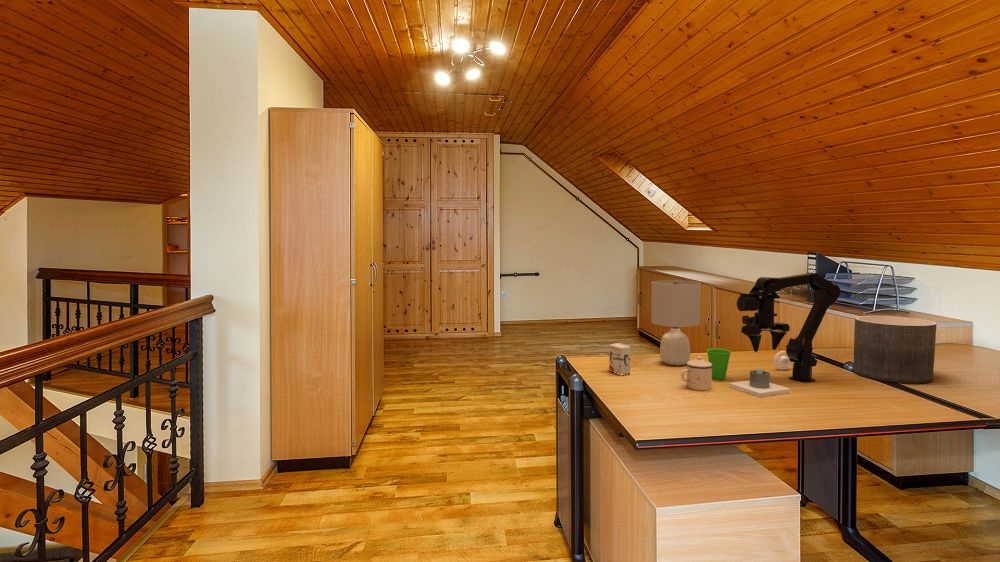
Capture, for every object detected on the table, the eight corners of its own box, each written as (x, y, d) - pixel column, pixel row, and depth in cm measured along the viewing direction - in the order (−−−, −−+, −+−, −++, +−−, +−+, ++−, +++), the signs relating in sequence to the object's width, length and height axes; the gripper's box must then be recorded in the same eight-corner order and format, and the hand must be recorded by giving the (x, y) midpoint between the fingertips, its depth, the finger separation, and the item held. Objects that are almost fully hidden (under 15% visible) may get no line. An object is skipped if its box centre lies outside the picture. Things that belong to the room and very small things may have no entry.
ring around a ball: (776, 371, 212) (777, 352, 212) (767, 368, 218) (768, 349, 217) (794, 370, 214) (794, 351, 213) (784, 367, 219) (785, 348, 219)
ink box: (608, 371, 216) (608, 343, 215) (617, 370, 218) (617, 342, 218) (621, 376, 209) (621, 347, 208) (631, 374, 211) (631, 346, 210)
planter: (943, 377, 201) (946, 321, 199) (919, 388, 186) (922, 328, 184) (867, 364, 221) (870, 313, 220) (841, 374, 207) (843, 319, 205)
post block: (758, 382, 196) (758, 363, 195) (790, 392, 183) (790, 372, 182) (729, 386, 191) (729, 367, 191) (759, 397, 178) (760, 376, 178)
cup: (733, 381, 198) (733, 353, 197) (708, 380, 200) (708, 353, 199) (727, 375, 207) (728, 348, 206) (703, 374, 209) (704, 348, 208)
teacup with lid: (702, 383, 197) (702, 353, 196) (717, 389, 188) (718, 358, 187) (674, 385, 194) (674, 355, 193) (688, 392, 185) (689, 360, 184)
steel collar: (759, 382, 191) (759, 369, 191) (773, 387, 185) (773, 373, 185) (745, 384, 189) (745, 371, 189) (759, 389, 183) (760, 375, 183)
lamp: (654, 368, 219) (654, 282, 217) (648, 358, 239) (649, 279, 236) (704, 370, 216) (705, 282, 213) (694, 359, 236) (695, 279, 233)
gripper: (766, 306, 207) (766, 344, 208) (730, 309, 200) (729, 349, 202) (791, 309, 196) (790, 350, 198) (753, 313, 190) (752, 354, 191)
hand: (765, 350), depth 197 cm, fingers open, 9 cm apart
